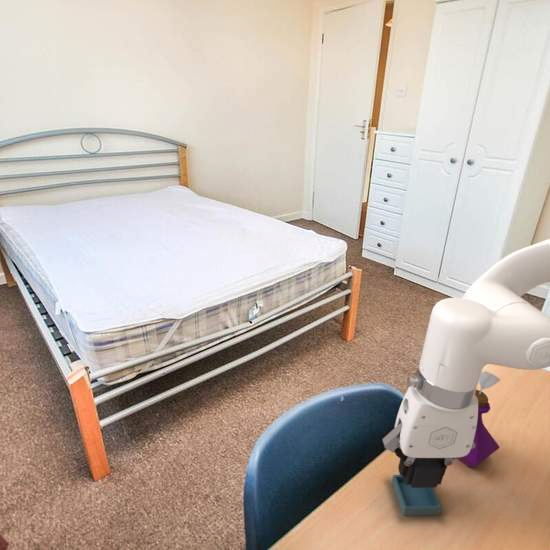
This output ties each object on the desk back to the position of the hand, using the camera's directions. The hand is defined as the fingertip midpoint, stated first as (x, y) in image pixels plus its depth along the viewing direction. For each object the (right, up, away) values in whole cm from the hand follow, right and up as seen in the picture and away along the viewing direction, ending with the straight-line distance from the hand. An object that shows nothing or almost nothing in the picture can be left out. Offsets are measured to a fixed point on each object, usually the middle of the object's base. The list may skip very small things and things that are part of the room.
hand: (419, 475), depth 60 cm
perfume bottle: (+12, -2, +10) cm, 16 cm away
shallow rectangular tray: (0, -5, +2) cm, 5 cm away
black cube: (0, 0, 0) cm, 0 cm away
